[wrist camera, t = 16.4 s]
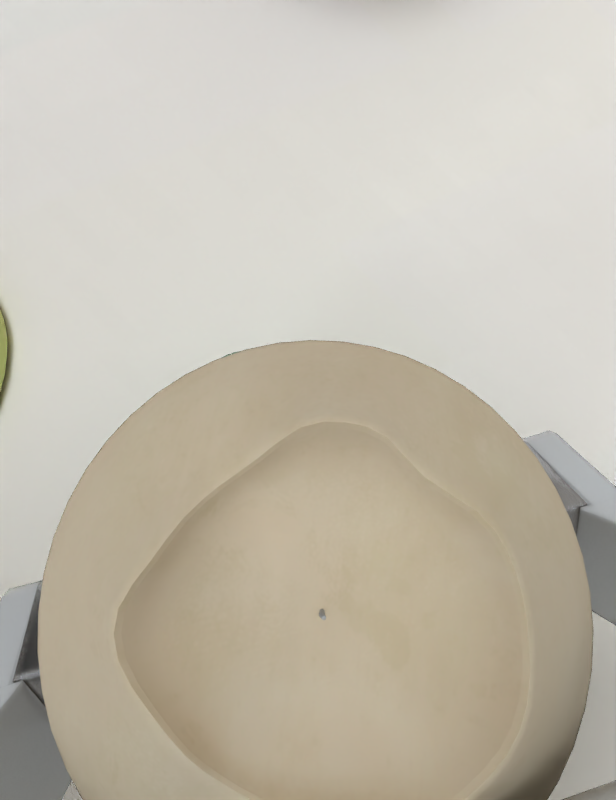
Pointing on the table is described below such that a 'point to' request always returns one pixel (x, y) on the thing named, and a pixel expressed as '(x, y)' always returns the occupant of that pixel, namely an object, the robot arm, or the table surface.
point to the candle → (315, 592)
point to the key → (2, 349)
